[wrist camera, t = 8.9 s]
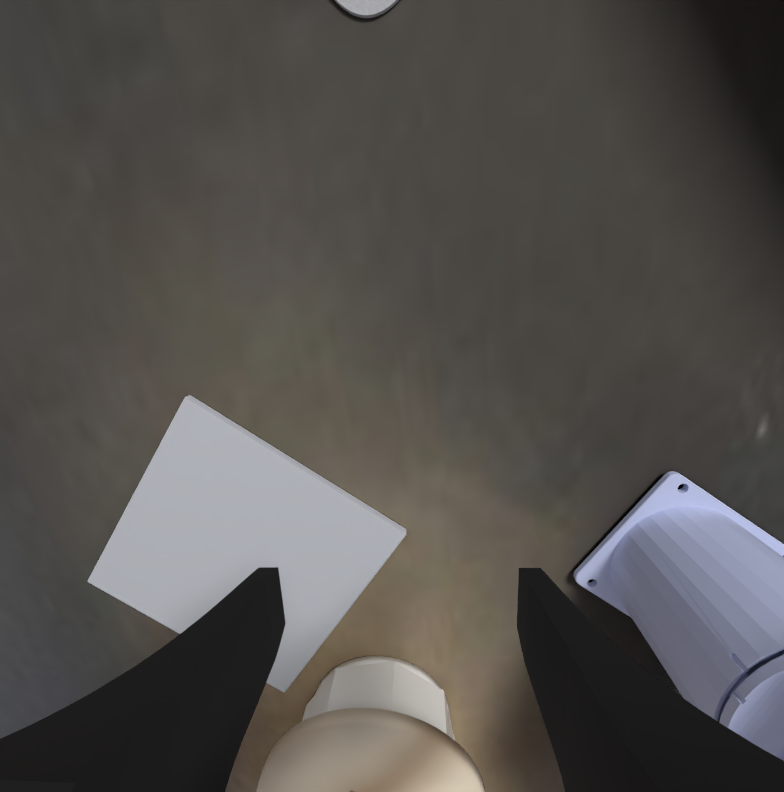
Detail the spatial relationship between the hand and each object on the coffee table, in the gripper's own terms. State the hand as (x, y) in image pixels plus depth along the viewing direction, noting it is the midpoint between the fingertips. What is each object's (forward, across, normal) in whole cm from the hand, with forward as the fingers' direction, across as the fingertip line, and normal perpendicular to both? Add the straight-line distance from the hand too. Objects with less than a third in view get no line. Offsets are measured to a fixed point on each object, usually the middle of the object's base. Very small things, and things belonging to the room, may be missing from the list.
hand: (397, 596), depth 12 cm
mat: (+10, +10, +6) cm, 16 cm away
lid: (+6, +2, +17) cm, 18 cm away
